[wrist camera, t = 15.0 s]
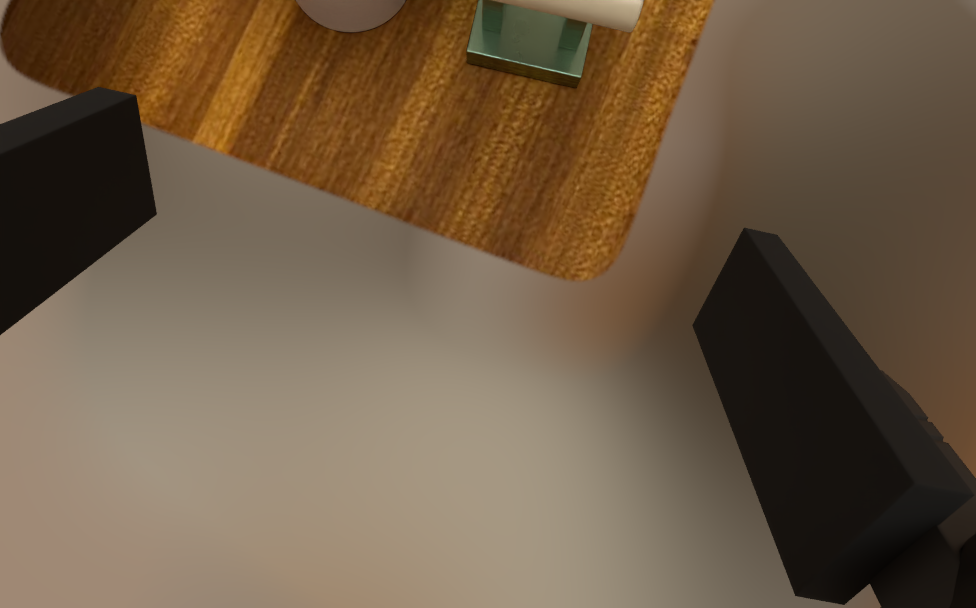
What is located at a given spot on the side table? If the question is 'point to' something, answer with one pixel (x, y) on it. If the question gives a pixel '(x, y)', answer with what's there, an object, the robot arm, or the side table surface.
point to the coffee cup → (351, 13)
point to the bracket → (528, 43)
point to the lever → (589, 11)
